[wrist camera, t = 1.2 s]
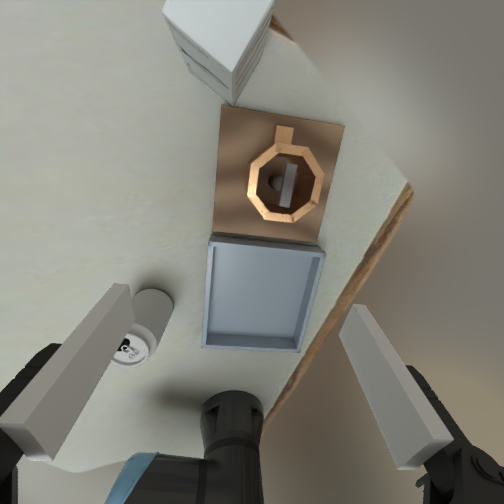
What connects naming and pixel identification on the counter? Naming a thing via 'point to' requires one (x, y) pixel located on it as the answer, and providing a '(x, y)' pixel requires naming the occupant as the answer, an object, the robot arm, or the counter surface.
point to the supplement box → (220, 39)
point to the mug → (306, 182)
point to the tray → (259, 294)
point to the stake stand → (268, 172)
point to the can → (144, 328)
